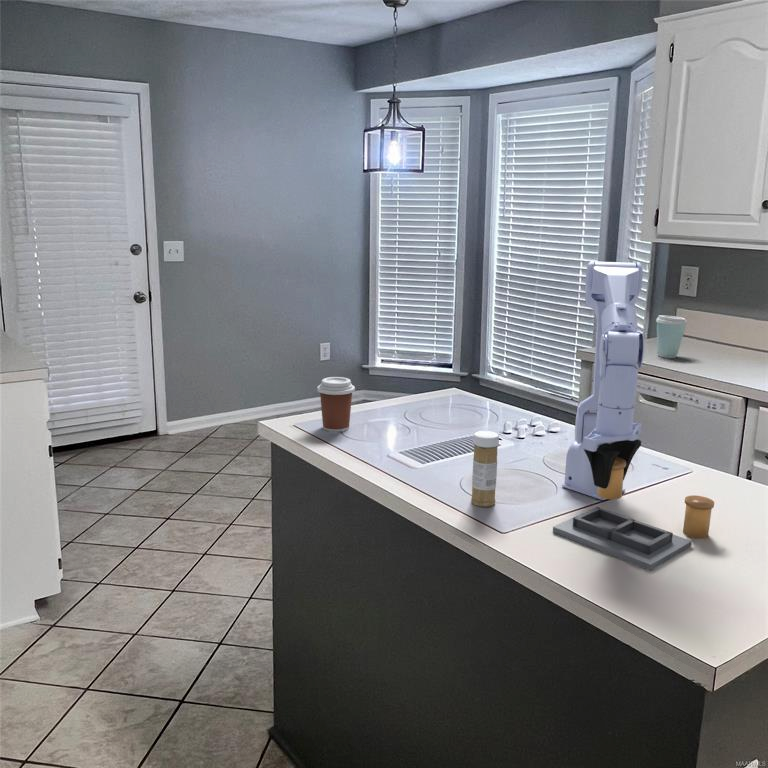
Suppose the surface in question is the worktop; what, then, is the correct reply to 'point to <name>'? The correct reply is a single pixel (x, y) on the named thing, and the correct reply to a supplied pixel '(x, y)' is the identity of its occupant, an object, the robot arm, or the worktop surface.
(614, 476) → the jaw peg
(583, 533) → the housing
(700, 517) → the jaw peg
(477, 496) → the sprinkles bottle
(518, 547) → the worktop surface
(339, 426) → the coffee cup
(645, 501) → the worktop surface
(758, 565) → the worktop surface
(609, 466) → the robot arm
